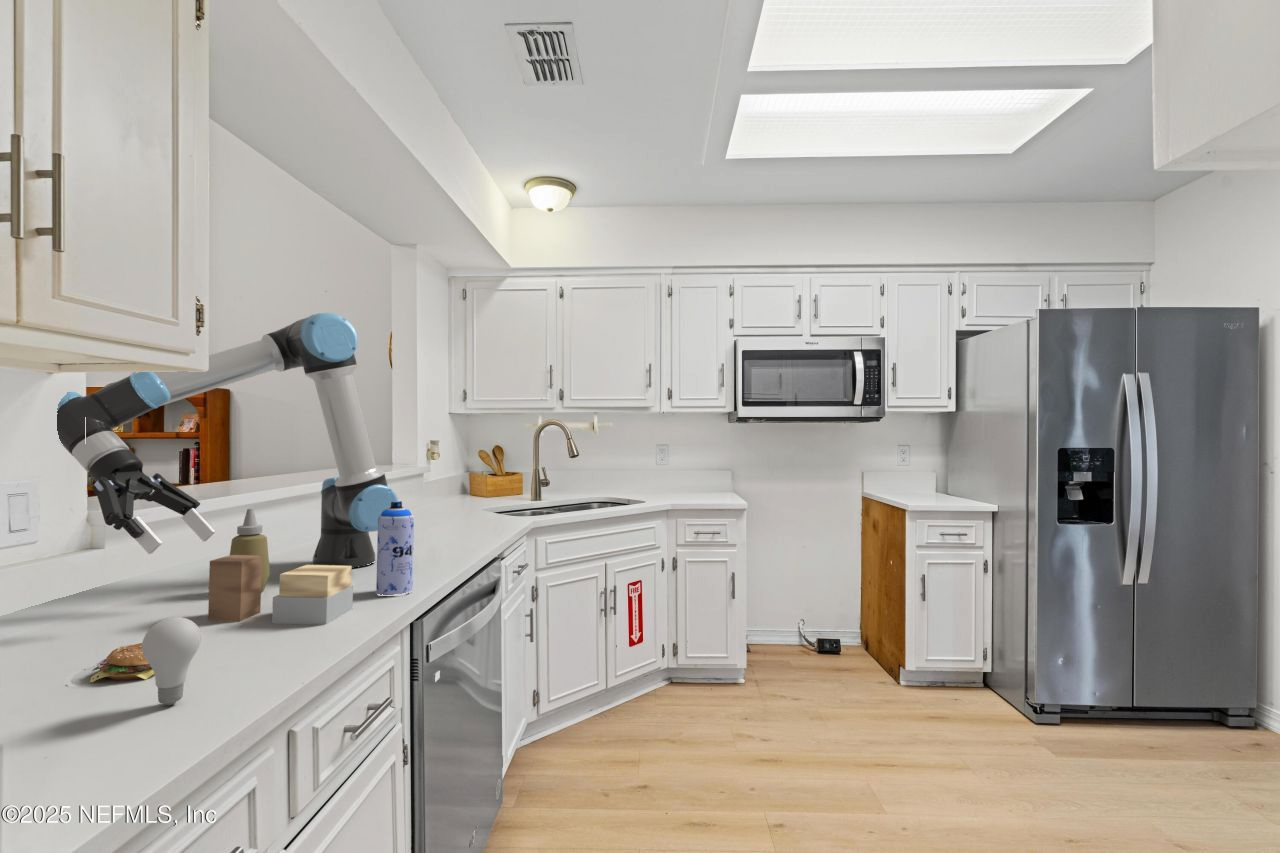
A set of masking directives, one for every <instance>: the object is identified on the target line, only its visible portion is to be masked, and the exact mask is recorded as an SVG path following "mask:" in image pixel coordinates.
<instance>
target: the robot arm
mask: <svg viewBox="0 0 1280 853" xmlns="http://www.w3.org/2000/svg"><path fill="white" fill-rule="evenodd" d="M358 341H359V340H358V335H357V331H356V329H355V327H354V326H353V325H352V324H351V322H350V321H349V320H347V319H346V318H344V317H343V316H341V315H339V314H337V313H333V312H322V313H321V312H319V313H315V314H312V315H309V316H307V317H305V318H301V319H299V320H298V319H297V321H294V322H293V323H290V324H289V325H287V326H285V327H282V328H280V329H278V330H275V331H273V332H269V333H266V334H263V335H262V337H261V339H260V340H257V341H254V342H251V343H247V344H243V345H239V346H236V347H232V348H229V349H226V350H223V351H218V352H215V353H211V354H209V370H208V371H206V372H188V371H177V372H153V371H152V372H140V371H138V372H136V373H132V374H129V376H127V377H124V378H122V379H120V380H117V381H114V382H111V383H108V384H106V385H105V386H103V387H102V388H101V389H99V390H97V391H95V392H93V393H89V394H87V395H85V396H83V395H81V394H80V393H78V392H76V391H73V392H71V390H69V391H70V392H67V394H66V395H65V396H64V397H63V398H62V399H61V401H60V402H59V404H58V408H57V410H58V411H57V413H58V414H57V431H58V435H59V439H60V441H61V443H62V444H63V445H62V444H61V443H60V444H61V445H62V446H63V447H64V448H65V449H66V451H67V452H68V453H69V454H70V455H71V456H72V457H73V458H74V459H75V460H76V461H77V462H78V464H80V465H81V467H82V468H83V469H84V470H85V471H87V472H88V474H89V476H90V477H91V478H92V479H93V480H94V481H95V483H94V484H92V486H91V489H92V490H93V492H94V493H95V495H96V496H97V499H98V503H99V506H100V509H101V513H102V515H103V516H102V517H103V520H104V523H105V525H108V526H109V527H110V526H112V527H113V528H114V529H115V530H116V531H120V530H121V529H122V528H123V529H124V531H125V532H127V533H128V534H129V535H130V536H131V538H133V539H134V540H135V541H136V542H137V543H138V544H139V545H140V546H141V548H142V549H144V551H146V553H147V554H149V555H151V554H153V553H154V552H155V551H156V550H157V549H158V548H159V547H160V546H162V544H164V543H163V541H162V540H161V539H160V538H159V537H158V536H157V535H156V534H155V533H154V531H153V530H152V529H151V528H150V527H149V526H148V525H147V524H146V523H145V521H144V520H142V518H141V517H140V516H135V517H134V501H137V500H140V501H141V500H144V501H147V502H151V503H152V502H154V503H156V504H159V505H161V506H163V507H165V508H167V509H170V510H171V511H173V512H175V513H177V514H179V515H181V516H182V517H181V519H182V520H183V522H185V523H186V525H187V526H188V527H189V528H190V529H191V530H192V531H193V532H194V533H195V535H197V536H198V537H199V539H200V540H202V542H207V541H208V540H209V539H210V538H211V537H212V536H213V535H214V534H215V533H216V530H215V529H214V528H213V527H212V526H211V525H210V524H209V523H208V522H207V521H206V519H205V518H204V517H203V516H202V515H201V514H200V513H199V512H198V511H197V508H198V507H199V506H200V505H201V502H199V501H198V500H197V499H195V498H194V497H192V496H191V495H189V494H188V493H186V492H185V491H183V490H181V489H180V488H178V487H177V486H175V485H174V484H172V483H171V482H169V481H168V480H166V478H164V477H163V476H162V475H161V474H159V473H157V472H156V473H154V475H152V476H149V475H147V474H145V473H144V472H143V467H144V462H142V460H141V459H140V458H139V457H138V456H137V455H136V454H135V453H134V451H132V450H130V447H129V446H128V445H127V444H126V443H125V442H124V441H123V439H122V438H120V437H119V436H118V435H117V433H115V432H114V430H113V429H115V428H118V427H120V426H121V425H123V424H125V423H127V422H129V421H131V420H133V419H136V418H137V417H140V416H142V415H144V414H147V413H149V412H150V411H152V410H154V409H158V408H159V407H161V406H165V405H168V404H170V403H174V402H177V401H181V400H183V399H186V398H190V397H192V396H196V395H200V394H202V393H205V392H208V391H211V390H214V389H215V390H216V389H217V388H221V387H225V386H228V385H231V384H234V383H237V382H239V381H243V380H246V379H249V378H253V377H255V376H259V375H261V374H265V373H267V372H271V371H278V372H280V373H281V372H285V371H288V370H291V369H297V368H300V367H301V368H303V372H304V376H306V377H308V378H309V379H312V380H313V382H314V385H315V388H316V393H317V395H318V396H317V398H318V400H319V405H320V409H321V411H322V415H323V419H324V423H325V427H326V429H327V435H328V438H329V442H330V445H331V449H332V453H333V456H334V460H335V463H336V468H337V471H338V477H329V478H326V479H324V480H323V482H322V485H321V486H322V487H321V490H320V494H321V500H320V501H321V503H320V504H321V509H320V511H321V512H320V513H321V514H320V538H319V540H318V543H317V545H316V548H315V549H314V550H315V551H314V554H313V556H312V565H338V566H352V569H354V568H353V567H358V566H363V565H367V564H370V563H372V562H374V561H375V562H376V553H375V550H374V546H373V543H372V540H371V537H370V533H369V532H378V518H379V515H381V513H382V512H383V511H384V510H386V509H387V508H390V507H391V502H400V501H399V497H398V495H397V493H396V492H395V491H394V489H392V488H391V487H389V486H388V482H387V477H386V474H385V471H383V470H381V468H378V467H377V464H376V461H375V457H374V453H373V450H372V447H371V442H370V439H369V434H368V431H367V426H366V423H365V419H364V414H363V411H362V406H361V403H360V398H359V395H358V391H357V388H356V383H355V380H354V375H353V373H354V372H355V370H356V368H357V366H358V364H357V360H356V355H355V352H356V350H357V347H358V343H359V342H358ZM85 417H86V444H85ZM358 568H359V567H358Z"/></svg>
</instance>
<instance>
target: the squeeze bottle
mask: <svg viewBox="0 0 1280 853" xmlns="http://www.w3.org/2000/svg"><path fill="white" fill-rule="evenodd" d="M236 533H237V535H235V536H234V537H233V538H232V539H231V544H230V550H229V551H230V552H229V555H260V556H262V572H261V593H262V592H264V590H265V587H266V585H267V583H268V580H269V577H270V575H271V570H270V559H269V546H268V537H267V536H266V535H264V534H263V525H261V524H258V522H257V518H256V514H255V509H253V508H247V509H246V512H245V516H244V519H243V523H242V525H239V526H237V528H236Z"/></svg>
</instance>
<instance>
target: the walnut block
mask: <svg viewBox="0 0 1280 853" xmlns="http://www.w3.org/2000/svg"><path fill="white" fill-rule="evenodd" d="M261 572H262V556H260V555H230V554H229V555H227V556H223V557H219V558H216V559H215V558H214V559H211V560H209V578H208V579H209V580H208V581H209V582H208V605H207V606H208V609H207V610H208V611H207V614H208V615H207V617H208V618H207V621H208V622H211V621H212V622H234V623H235V622H237V623H238V622H240V623H241V622H243V621H245V620H247V619H249V618H251V617H254V616H256V615H259V614H261V604H262V603H261V602H262V592H261Z"/></svg>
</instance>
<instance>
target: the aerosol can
mask: <svg viewBox="0 0 1280 853" xmlns="http://www.w3.org/2000/svg"><path fill="white" fill-rule="evenodd" d="M414 527H415V517H414V514H412V512H411V511H410V510H409V509H408V508H406V507H405V506H404V507H403V502H402V501H399V502H391V507H390V508H387V509H386V510H384V511H383V512H382V513H381V515H379V518H378V531H377V544H376V545H377V546H376V547H377V548H376V549H377V553H376V584H375V586H376V587H375V588H376V590H375V593H376V594H380V595H382V594H383V595H394V594H402V593H406V592H409V591H411V590H412V588H413V586H414V585H413V582H414V581H413V577H414V576H413V574H414V542H415V541H414V538H415V537H414V536H415V534H414V532H415V531H414V530H415V528H414Z"/></svg>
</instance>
